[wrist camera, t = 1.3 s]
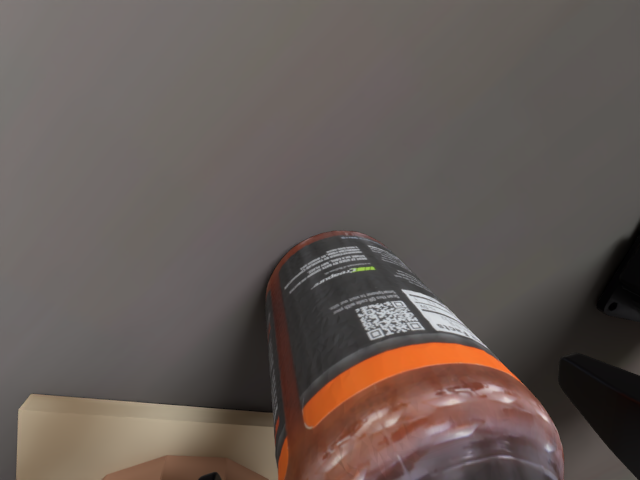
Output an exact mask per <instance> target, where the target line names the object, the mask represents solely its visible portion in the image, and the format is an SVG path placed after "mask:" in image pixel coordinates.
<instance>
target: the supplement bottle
mask: <svg viewBox="0 0 640 480" xmlns="http://www.w3.org/2000/svg"><path fill="white" fill-rule="evenodd" d="M265 314H266V325H267V341H268V353H269V366H270V381H271V395H272V409H273V420H274V439H275V457H276V463H277V468H278V480H564V454H563V447H562V444H561V441H560V437H559V434H558V431H557V429H556V427H555V425H554V423H553V421H552V419H551V417H550V416H549V414H548V413H547V411H546V410H545V408H544V407H543V406H542V404H541V403H540V402H539V400H538V399H537V398H536V397H535V396H534V395H533V394H532V393H531V392H530V390H529V389H528V388H527V387H526V386H525V385H524V384H523V383H522V382H521V381H520V380H519V379H518V378H517V377H516V376H515V375H513V374H512V373H511V372H510V371H509V370H508V369H507V368H506V367H505V366H504V365H503V364H502V363H501V362H500V360H499V359H498V358H497V357H496V356H495V355H494V354H493V353H492V352H491V351H490V350H489V349H488V348H487V347H486V346H485V345H484V344H483V343H482V342H481V341H480V340H479V339H478V338H477V337H476V336H475V335H474V334H473V333H472V332H471V331H470V330H469V329H468V328H467V327H466V326H465V325H464V324H463V323H462V322H461V321H460V320H459V319H458V318H457V317H456V316H455V315H454V314H453V313H452V312H451V311H450V310H449V309H448V308H447V307H446V306H445V305H444V304H443V302H442V301H440V300H439V299H438V298H437V297H436V296H435V295H434V293H432V292H431V291H430V290H429V289H428V288H427V287H426V286H425V285H424V284H423V283H422V281H421V280H420V279H419V278H417V276H416V275H414V274H413V272H411V271H410V269H409V268H408V267H407V266H406V265H405V264H404V263H403V262H401V260H400V259H398V258H397V256H396V255H395V254H393V253H392V252H391V251H390V250H389V249H388V248H387V247H386V246H385V245H383V244H382V243H381V242H379V241H377V240H376V239H374V238H372V237H370V236H367V235H365V234H362V233H359V232H354V231H331V232H326V233H321V234H318V235H315V236H313V237H310V238H308V239H306V240H305V241H303V242H301V243H299V244H298V245H296V246H295V247H294V248H292V249H291V250H290V251H289V252H288V253H287V254H286V255H285V256H284V257H283V258H282V259H281V261H280V262H279V263H278V265H277V266H276V268H275V269H274V271H273V274H272V276H271V278H270V280H269V283H268V286H267V290H266V308H265Z"/></svg>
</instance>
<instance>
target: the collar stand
mask: <svg viewBox="0 0 640 480" xmlns="http://www.w3.org/2000/svg"><path fill="white" fill-rule="evenodd" d="M212 472H217V473H218V474H219V475H220V477H221V479H222V480H278V468H277V463H276V457H275V439H274V420H273V413H266V412H253V411H241V410H228V409H216V408H203V407H190V406H178V405H165V404H153V403H140V402H127V401H115V400H102V399H90V398H77V397H64V396H52V395H39V394H31V395H30V396H29V397H28V398H27V400H26V401H25V402H24V403H23V405H22V406H21V407H20V409H19V410H18V439H17V469H16V480H198V479H199V478H200V477H201V476H203V475H206V474H209V473H212Z"/></svg>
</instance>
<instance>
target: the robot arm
mask: <svg viewBox="0 0 640 480" xmlns="http://www.w3.org/2000/svg"><path fill="white" fill-rule="evenodd" d="M597 309H598V310H599V311H601V312H603V313H605V314H606V315H609V316H614V317H619V318H623V319H628V320H633V321H637V322H640V234H639V236H638V237H637V239H636V241H635V242H634V244H633V245H632V247H631V249H630V250H629V252H628V254H627V255H626V257H625V258H624V260H623V262H622V263H621V265H620V267H619V268H618V270H617V271H616V273H615V275H614V276H613V278H612V280H611V281H610V283H609V284H608V286H607V288H606V289H605V291H604V293H603V294H602V296H601V297H600V299H599V301H598V303H597ZM558 381H559V384H560V387H561V388H562V390H563V391H564V393H565V394H566V395H567V396H568V398H569V399H570V400H571V401H572V403H573V404H574V405H575V406H576V408H577V409H578V410H579V411H580V413H581V414H582V415H583V416H584V418H585V419H586V420H587V421H588V423H589V424H590V425H591V427H592V428H593V429H594V430H595V432H596V433H597V434H598V435H599V437H600V438H601V439H602V440H603V441H604V443H605V444H606V445H607V446H608V447H609V449H610V450H611V451H612V452H613V453H614V454H615V455H616V456H617V457H618V458H619V460H620V461H621V462H622V463H623V464H624V465H625V466H626V467H627V468H628V469H629V470H630V471H631V472H632V473H633V475H634V476H635V477H636V478H637V479H638V480H640V376H639V375H636V374H633V373H631V372H628V371H625V370H623V369H620V368H617V367H615V366H612V365H609V364H606V363H604V362H601V361H598V360H596V359H593V358H590V357H588V356H585V355H582V354H579V353H572V354H569V355H566V356H563V357H561V359H560V361H559V375H558ZM198 480H222V479H221V477H220V475H219V474H218V473H217V472H212V473H209V474H206V475H203V476H201V477H200V478H199V479H198Z"/></svg>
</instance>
